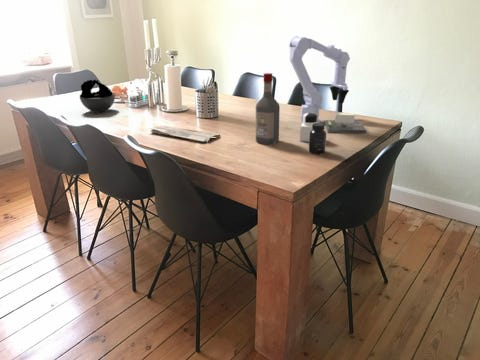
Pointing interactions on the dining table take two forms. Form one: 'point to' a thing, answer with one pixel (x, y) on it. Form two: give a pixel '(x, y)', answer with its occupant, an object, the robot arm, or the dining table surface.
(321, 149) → the supplement bottle
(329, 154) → the dining table surface
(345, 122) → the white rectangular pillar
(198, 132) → the newspaper
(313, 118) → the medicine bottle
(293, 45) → the robot arm
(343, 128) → the base
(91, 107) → the coal bowl
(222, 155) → the dining table surface
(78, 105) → the dining table surface
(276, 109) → the liquor
